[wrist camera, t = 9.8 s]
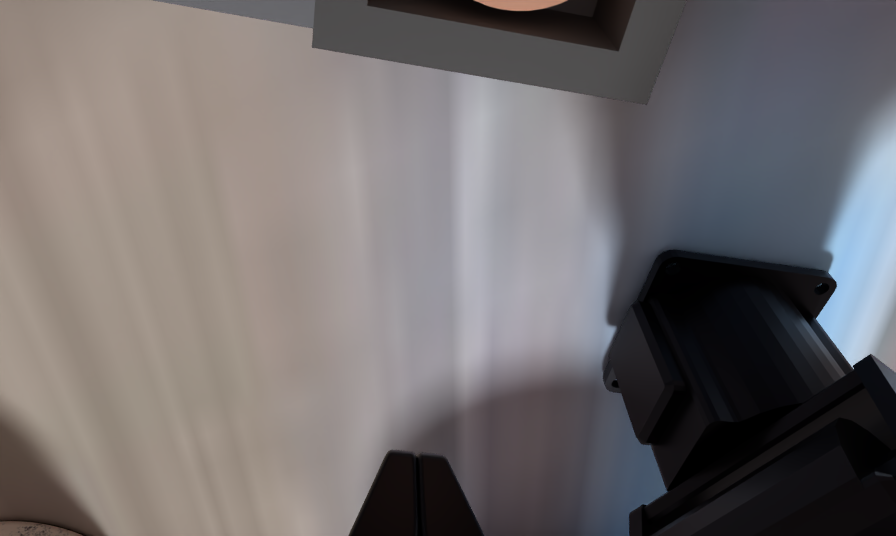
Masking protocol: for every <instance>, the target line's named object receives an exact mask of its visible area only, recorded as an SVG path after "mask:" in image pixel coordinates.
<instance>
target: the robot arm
mask: <svg viewBox="0 0 896 536" xmlns="http://www.w3.org/2000/svg"><path fill="white" fill-rule="evenodd" d="M671 263H676V264H675V265H674V266H673V267H671V268H666V267H667V266H668V265H669V264H671ZM819 284H821V285H820V286H818V285H819ZM817 286H818V287H817ZM836 287H837V284H836V281H835V280H834V279H833V278H832V277H831V275H830V274H829V273H828V272H826V271H822V270H815V269H808V268H801V267H794V266H787V265H779V264H772V263H765V262H758V261H751V260H744V259H736V258H729V257H722V256H715V255H708V254H701V253H693V252H686V251H679V250H668V251H665V252H663V253H662V254H660V255H659V256H658V257H657V259H656V260H655V262H654V264H653V267H652V269H651V271H650V273H649V275H648V278H647V280H646V282H645V284H644V286H643V289H642V291H641V293H640V295H639V297H638V300H637V301H636V302H635V303H634V304H633V305H631V307H630V308H629V311H628V313H627V315H626V317H625V320H624V322H623V324H622V326H621V328H620V331H619V333H618V335H617V337H616V339H615V342H614V344H613V346H612V348H611V351H610V353H609V358H610V361H609V363H608V365H607V367H606V370H605V372H604V374H603V381H604V384H605V387H606V389H607V390H609V391H611V392H616V393H621V394H622V397H623V400H624V403H625V406H626V409H627V412H628V415H629V418H630V420H631V423H632V426H633V429H634V432H635V435H636V438H637V439H638V440H639V442H640V443H641V444H643V445H651V447H652V450H653V453H654V456H655V459H656V461H657V464H658V467H659V470H660V473H661V475H662V478H663V481H664V484H665V487H666V490H667V493H665V494H664V495H662V496H661V497H659V498H657V499H656V500H654V501H653V502H651V503H650V504H648V505H644V504H643V505H641V506H640V507H638V508H637V509H635V510H634V511H632V512H631V513H630V514H629V536H896V373H895V372H894V371H893V370H891V369H890V368H889V367H887V366H886V365H885V364H884V363H882V362H881V361H880V360H878V359H877V358H876V357H875V356H873V355H872V354H870V355H868V356H867V357H865V358H864V359H862V360H861V361H859V362H858V363H856V364H855V365H853V368H854V369H853V368H852V367H851V365H850V364H849V363H848V361H847V360H846V359H845V357H844V356H843V355H842V353H841V352H840V351H839V349H838V348H837V347H836V345H835V344H834V343H833V341H832V340H831V339H830V337H829V336H828V335H827V333H826V332H825V331H824V329H823V328H822V327H821V325H820V324H819V323H818V321H817V320H816V318H817V316H818V315H819V313H820V312H821V310H822V309H823V307H824V306H825V304H826V303H827V301H828V300H829V299H830V297H831V296H832V294H833V293H834V291H835V289H836ZM615 379H617V380H615ZM349 536H484V534H483V532H482V530H481V528H480V525H479V523H478V521H477V519H476V517H475V515H474V513H473V511H472V509H471V507H470V505H469V503H468V501H467V499H466V497H465V495H464V493H463V491H462V489H461V486H460V484H459V482H458V480H457V478H456V476H455V474H454V472H453V470H452V468H451V466H450V464H449V462H448V460H447V459H446V457H445V456H443V455H441V454H432V453H419V454H417V456H416V455H415V453H413V452H410V451H399V450H390V451H388V452H387V454H386V456H385V458H384V460H383V462H382V464H381V466H380V469H379V471H378V473H377V475H376V477H375V479H374V482H373V484H372V486H371V488H370V490H369V492H368V495H367V497H366V499H365V501H364V503H363V505H362V508H361V510H360V512H359V514H358V516H357V518H356V521H355V523H354V525H353V527H352V529H351V531H350V533H349Z"/></svg>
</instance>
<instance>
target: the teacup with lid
mask: <svg viewBox="0 0 896 536" xmlns="http://www.w3.org/2000/svg"><path fill="white" fill-rule="evenodd" d="M0 536H83V535H81V534H78V533H75V532H73V531H69V530H66V529H63V528H59V527H56V526H51V525H46V524H40V523H33V522H22V521H0Z"/></svg>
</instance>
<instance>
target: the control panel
mask: <svg viewBox="0 0 896 536" xmlns="http://www.w3.org/2000/svg"><path fill="white" fill-rule="evenodd" d="M154 1H159V2H165V3H171V4H177V5H182V6H188V7H194V8H199V9H205V10H211V11H216V12H222V13H228V14H234V15H239V16H245V17H251V18H256V19H262V20H268V21H273V22H279V23H285V24H291V25H296V26H302V27H308V28H313V41H312V48H318V49H324V50H329V51H335V52H341V53H347V54H353V55H359V56H364V57H370V58H376V59H382V60H388V61H394V62H399V63H405V64H411V65H417V66H423V67H429V68H434V69H440V70H446V71H452V72H458V73H464V74H469V75H475V76H481V77H487V78H493V79H499V80H504V81H510V82H516V83H522V84H528V85H534V86H540V87H545V88H551V89H557V90H563V91H569V92H575V93H580V94H586V95H592V96H598V97H604V98H610V99H615V100H621V101H627V102H633V103H639V104H645V105H647V103H648V100H649V98H650V95H651V92H652V90H653V87H654V85H655V82H656V79H657V77H658V74H659V72H660V69H661V66H662V64H663V61H664V58H665V56H666V53H667V51H668V48H669V45H670V43H671V40H672V38H673V35H674V32H675V30H676V27H677V24H678V22H679V19H680V17H681V14H682V11H683V9H684V6H685V3H686V1H687V0H567V1H565V2H562V3H560V4H558V5H554V6H551V7H547V8H544V9H537V10H531V11H511V10H503V9H498V8H494V7H490V6H487V5H484V4H482V3H479V2H477V1H475V0H154Z"/></svg>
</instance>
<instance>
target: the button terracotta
mask: <svg viewBox="0 0 896 536" xmlns="http://www.w3.org/2000/svg"><path fill="white" fill-rule="evenodd" d="M475 1H477V2H479V3H482V4H484V5H487V6H490V7H494V8H498V9H503V10H511V11H531V10H537V9H544V8H547V7H551V6H554V5H558V4H560V3H562V2H565V1H567V0H475Z"/></svg>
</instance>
